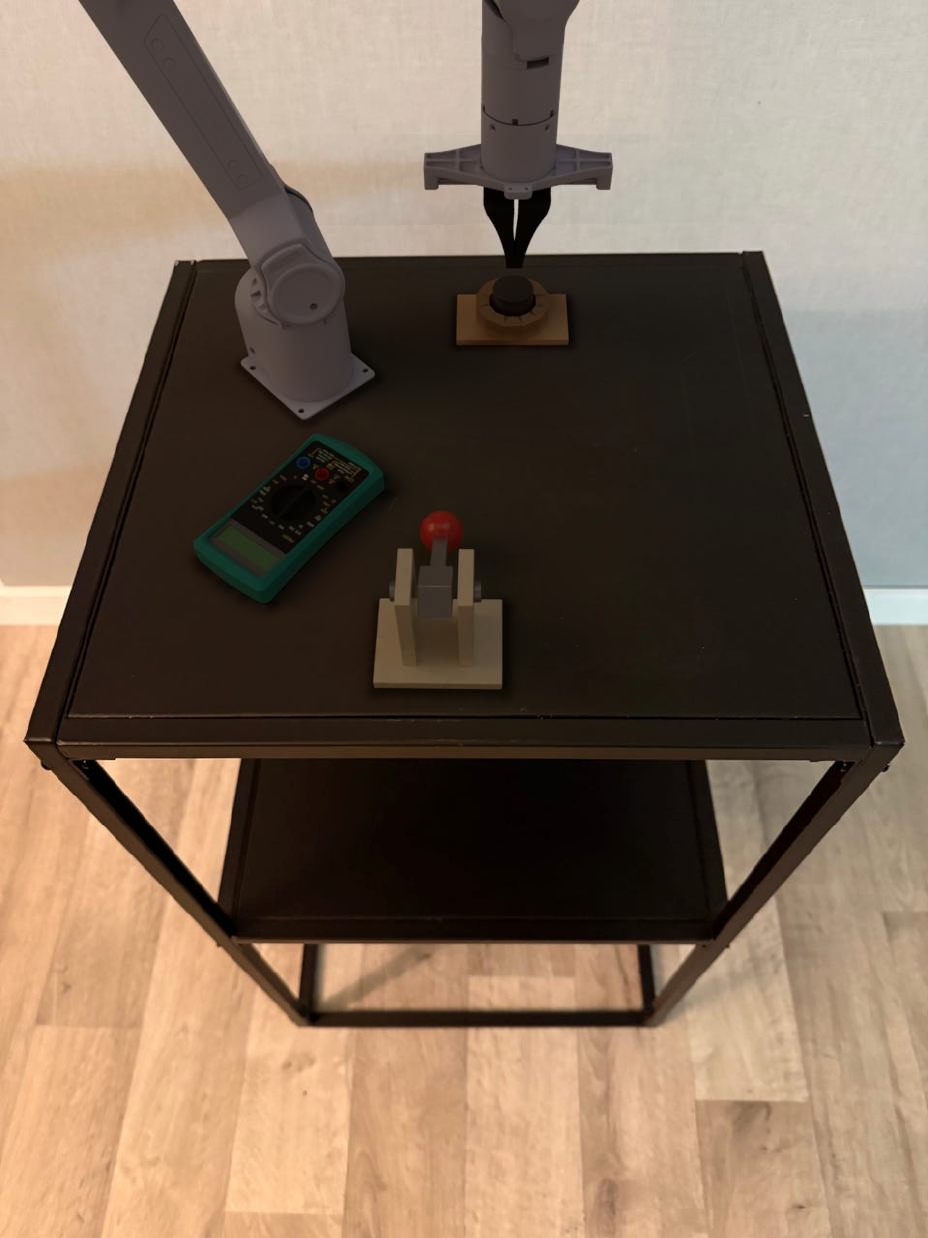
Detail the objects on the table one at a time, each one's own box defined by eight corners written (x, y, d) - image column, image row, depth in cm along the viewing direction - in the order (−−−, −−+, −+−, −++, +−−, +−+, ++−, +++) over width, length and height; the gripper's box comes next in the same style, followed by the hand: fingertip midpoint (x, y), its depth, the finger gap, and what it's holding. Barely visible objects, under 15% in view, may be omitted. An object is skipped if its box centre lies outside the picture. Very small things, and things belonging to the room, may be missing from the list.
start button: (492, 317, 83) (492, 301, 82) (492, 290, 85) (492, 273, 84) (533, 317, 83) (534, 301, 82) (532, 289, 85) (533, 273, 84)
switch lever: (422, 542, 72) (421, 503, 70) (464, 542, 72) (464, 503, 70) (410, 623, 61) (409, 580, 60) (459, 623, 61) (459, 580, 60)
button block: (456, 347, 84) (455, 325, 82) (457, 298, 88) (457, 276, 86) (568, 347, 84) (570, 325, 82) (565, 298, 88) (567, 275, 85)
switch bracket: (381, 606, 70) (368, 531, 62) (501, 607, 70) (504, 532, 62) (374, 690, 67) (360, 622, 59) (502, 691, 66) (505, 623, 58)
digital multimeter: (392, 486, 76) (389, 462, 74) (265, 611, 70) (257, 590, 68) (324, 446, 79) (319, 421, 76) (196, 563, 72) (185, 540, 70)
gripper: (418, 135, 67) (427, 292, 78) (623, 135, 66) (602, 292, 78) (422, 80, 70) (430, 237, 82) (617, 79, 70) (597, 237, 82)
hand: (514, 260), depth 80 cm, fingers closed
